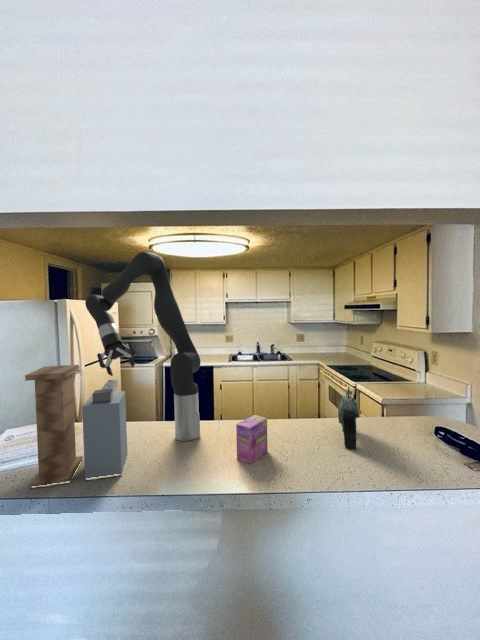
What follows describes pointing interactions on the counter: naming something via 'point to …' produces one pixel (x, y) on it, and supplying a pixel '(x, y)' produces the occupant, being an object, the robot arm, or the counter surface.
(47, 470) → the walnut stand
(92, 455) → the slate block
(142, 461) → the counter surface
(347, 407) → the dark grey upright piece
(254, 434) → the box
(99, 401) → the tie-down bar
